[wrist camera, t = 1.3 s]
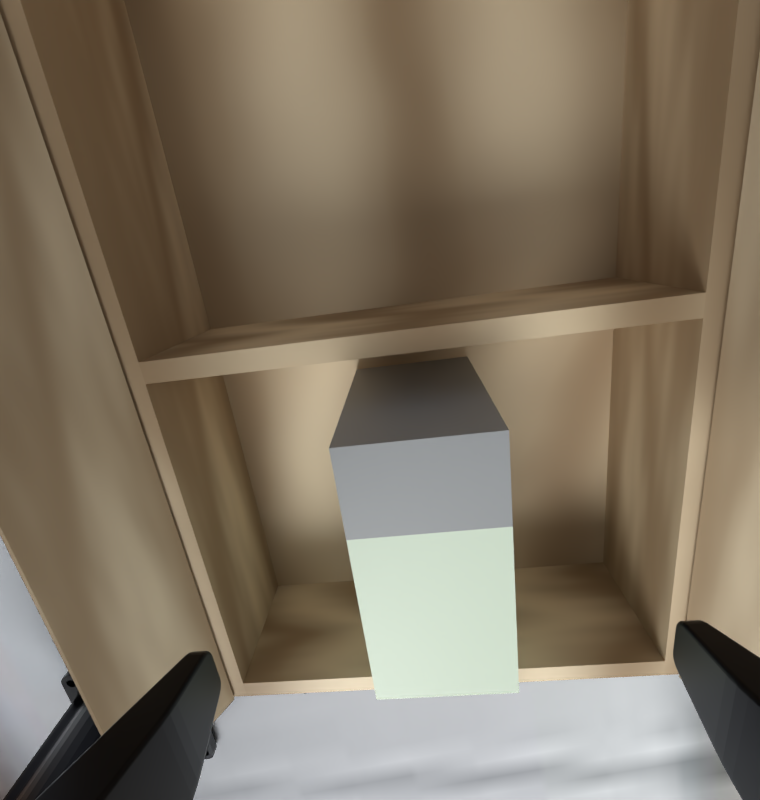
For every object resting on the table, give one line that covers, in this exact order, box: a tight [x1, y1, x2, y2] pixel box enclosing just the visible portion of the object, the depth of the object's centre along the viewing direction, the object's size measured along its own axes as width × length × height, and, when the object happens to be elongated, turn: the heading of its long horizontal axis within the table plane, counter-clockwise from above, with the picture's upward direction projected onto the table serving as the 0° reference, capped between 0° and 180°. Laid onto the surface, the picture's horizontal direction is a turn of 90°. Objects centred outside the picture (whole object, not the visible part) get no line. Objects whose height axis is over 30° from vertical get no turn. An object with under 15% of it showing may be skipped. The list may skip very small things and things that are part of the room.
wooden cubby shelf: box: [0, 0, 760, 736], centre depth 12 cm, size 19×24×8 cm
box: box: [329, 357, 519, 700], centre depth 14 cm, size 4×8×6 cm, turn 8°
